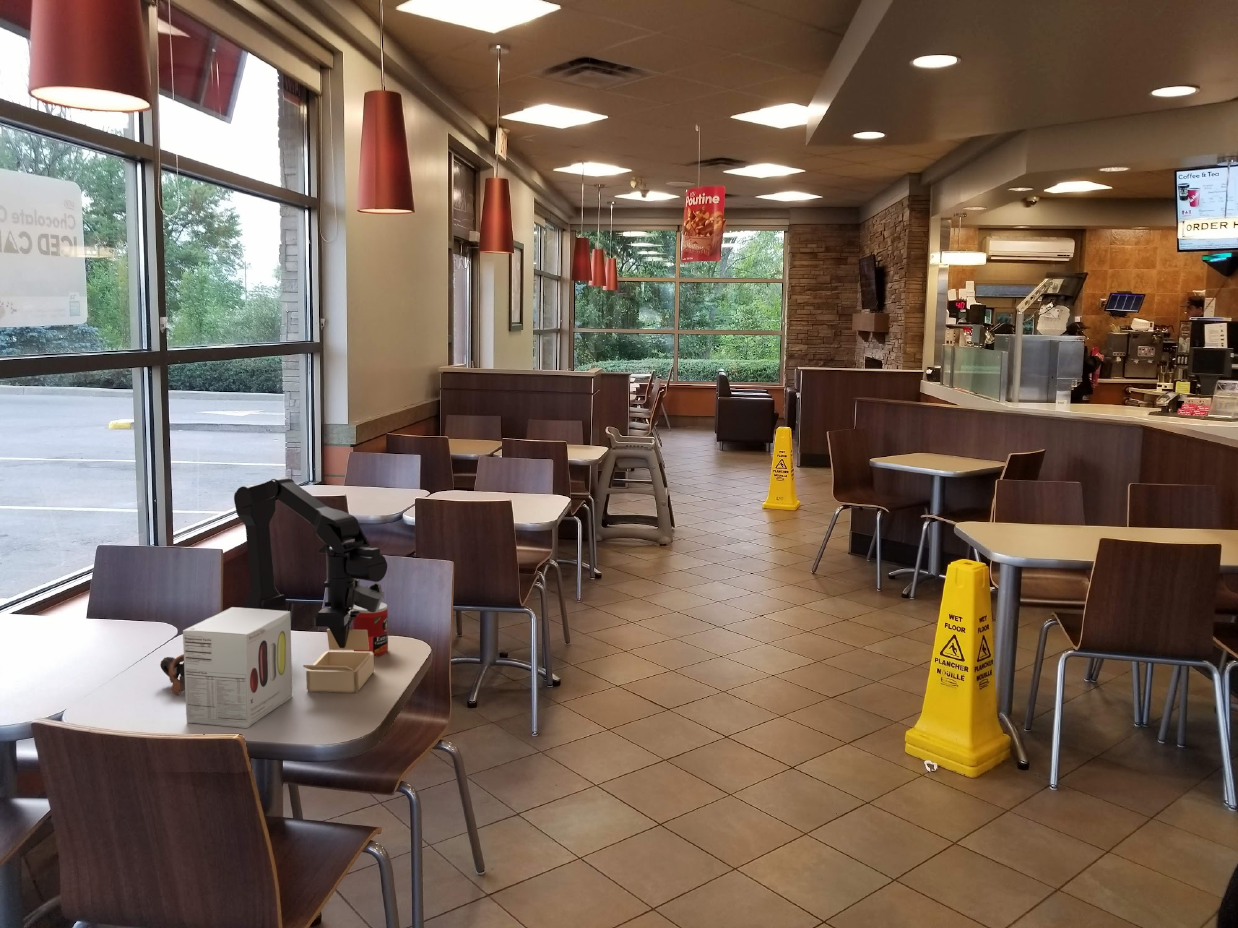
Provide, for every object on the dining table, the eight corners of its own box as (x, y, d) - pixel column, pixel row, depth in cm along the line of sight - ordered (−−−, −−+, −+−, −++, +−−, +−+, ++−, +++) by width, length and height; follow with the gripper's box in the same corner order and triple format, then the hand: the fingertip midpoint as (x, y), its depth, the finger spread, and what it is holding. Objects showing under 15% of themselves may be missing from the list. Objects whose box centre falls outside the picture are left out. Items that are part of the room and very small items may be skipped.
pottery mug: (225, 681, 209) (222, 655, 204) (198, 715, 201) (194, 688, 196) (174, 664, 210) (170, 637, 205) (145, 696, 203) (140, 669, 198)
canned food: (379, 658, 223) (378, 611, 222) (347, 655, 225) (346, 608, 224) (394, 648, 231) (393, 602, 229) (362, 645, 232) (361, 600, 231)
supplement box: (250, 729, 183) (246, 634, 180) (184, 723, 185) (180, 630, 182) (295, 696, 200) (292, 609, 197) (234, 691, 202) (231, 605, 199)
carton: (305, 692, 202) (305, 670, 201) (325, 670, 215) (325, 650, 214) (358, 693, 202) (357, 671, 201) (374, 671, 215) (374, 651, 214)
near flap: (310, 668, 201) (310, 669, 201) (303, 664, 196) (303, 666, 196) (352, 669, 201) (352, 670, 201) (346, 665, 196) (346, 667, 196)
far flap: (326, 629, 212) (327, 628, 212) (329, 649, 214) (329, 648, 214) (366, 630, 212) (367, 629, 212) (368, 650, 213) (369, 649, 214)
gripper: (367, 587, 197) (368, 662, 199) (390, 565, 216) (391, 635, 218) (312, 586, 198) (313, 661, 200) (339, 565, 216) (341, 634, 218)
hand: (342, 647), depth 209 cm, fingers closed
